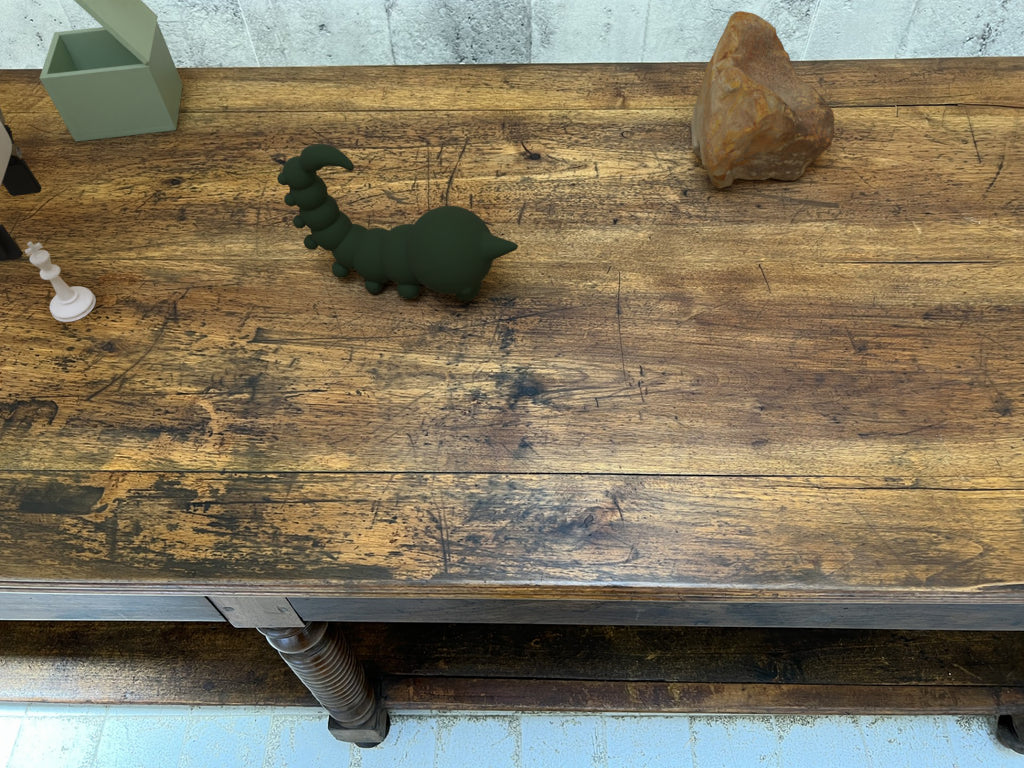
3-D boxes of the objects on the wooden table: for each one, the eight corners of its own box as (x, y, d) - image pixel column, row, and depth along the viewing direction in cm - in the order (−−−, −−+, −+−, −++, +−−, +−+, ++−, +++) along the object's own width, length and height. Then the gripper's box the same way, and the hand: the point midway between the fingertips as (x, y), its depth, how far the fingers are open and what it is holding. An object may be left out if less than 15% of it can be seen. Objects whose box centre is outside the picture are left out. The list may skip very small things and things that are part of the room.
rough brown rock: (815, 234, 98) (866, 129, 86) (678, 208, 99) (710, 102, 87) (812, 119, 112) (856, 15, 100) (692, 98, 113) (721, -7, 101)
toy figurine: (310, 302, 95) (514, 332, 89) (249, 172, 80) (490, 196, 74) (341, 246, 101) (537, 270, 94) (290, 114, 86) (518, 132, 79)
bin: (75, 142, 111) (39, 78, 103) (87, 95, 118) (54, 32, 110) (176, 130, 112) (148, 66, 104) (183, 84, 118) (157, 21, 110)
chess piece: (104, 304, 94) (62, 241, 86) (65, 329, 92) (18, 267, 84) (82, 283, 96) (39, 220, 88) (43, 307, 94) (-4, 244, 86)
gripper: (-104, 25, 75) (-2, 174, 88) (-169, 144, 64) (-42, 291, 78) (-20, 15, 75) (69, 165, 89) (-71, 133, 65) (38, 281, 79)
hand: (17, 224), depth 84 cm, fingers open, 9 cm apart
